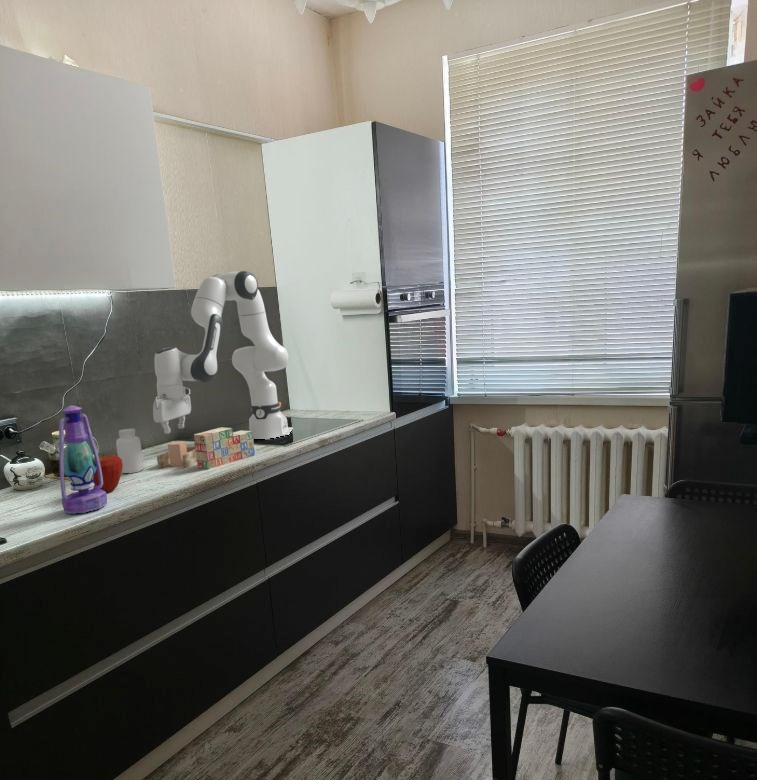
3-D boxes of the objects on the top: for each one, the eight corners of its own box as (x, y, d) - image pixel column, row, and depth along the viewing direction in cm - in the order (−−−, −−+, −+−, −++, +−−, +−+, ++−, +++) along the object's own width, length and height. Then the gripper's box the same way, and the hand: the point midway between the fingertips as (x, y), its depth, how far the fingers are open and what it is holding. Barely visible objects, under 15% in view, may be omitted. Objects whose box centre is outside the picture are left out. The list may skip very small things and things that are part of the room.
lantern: (80, 518, 166) (65, 409, 162) (51, 515, 170) (35, 409, 167) (119, 502, 178) (105, 401, 174) (90, 500, 182) (76, 401, 179)
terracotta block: (177, 463, 224) (174, 441, 223) (188, 462, 223) (185, 441, 222) (170, 466, 220) (167, 444, 218) (182, 465, 219) (179, 444, 218)
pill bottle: (138, 467, 222) (133, 426, 220) (147, 470, 216) (142, 428, 214) (116, 472, 216) (110, 431, 214) (125, 475, 211) (119, 433, 209)
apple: (99, 487, 197) (94, 450, 196) (131, 485, 197) (127, 448, 195) (81, 497, 186) (76, 459, 185) (116, 495, 186) (110, 456, 184)
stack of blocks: (243, 454, 231) (240, 422, 229) (255, 455, 227) (251, 423, 226) (197, 468, 214) (193, 433, 212) (208, 469, 210) (204, 434, 209)
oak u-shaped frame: (178, 458, 231) (176, 447, 231) (205, 457, 229) (203, 446, 228) (158, 468, 217) (156, 456, 217) (186, 467, 215) (185, 455, 215)
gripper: (163, 396, 207) (167, 436, 209) (192, 388, 227) (196, 425, 228) (146, 397, 208) (150, 436, 210) (176, 389, 228) (180, 426, 230)
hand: (174, 430), depth 219 cm, fingers open, 8 cm apart
